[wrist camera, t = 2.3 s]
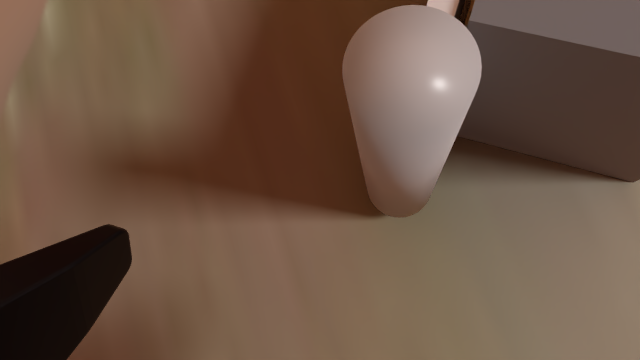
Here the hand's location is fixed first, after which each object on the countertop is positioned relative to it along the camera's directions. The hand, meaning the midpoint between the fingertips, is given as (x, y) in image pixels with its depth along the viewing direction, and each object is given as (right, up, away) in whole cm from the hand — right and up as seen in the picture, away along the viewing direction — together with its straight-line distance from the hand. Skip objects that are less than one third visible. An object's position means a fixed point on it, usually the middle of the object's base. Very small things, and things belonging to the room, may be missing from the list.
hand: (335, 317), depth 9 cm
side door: (+4, +7, +12) cm, 14 cm away
